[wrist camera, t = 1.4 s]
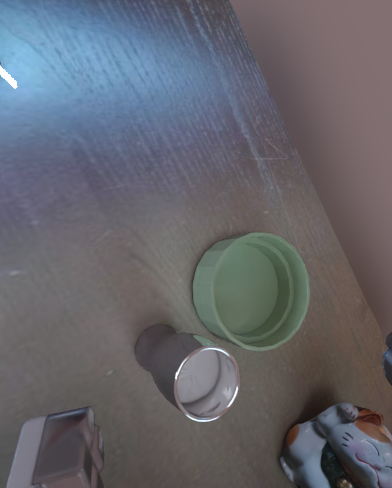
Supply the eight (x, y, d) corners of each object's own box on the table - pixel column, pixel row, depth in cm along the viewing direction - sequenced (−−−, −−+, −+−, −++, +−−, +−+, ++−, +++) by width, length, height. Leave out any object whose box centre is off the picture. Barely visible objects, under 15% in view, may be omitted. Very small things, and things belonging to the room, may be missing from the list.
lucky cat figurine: (264, 442, 50) (349, 432, 40) (299, 394, 58) (376, 376, 49) (323, 544, 47) (428, 559, 38) (351, 478, 56) (442, 477, 47)
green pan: (170, 281, 46) (187, 283, 40) (245, 215, 51) (269, 209, 45) (233, 364, 49) (257, 376, 43) (298, 293, 54) (327, 296, 48)
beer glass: (132, 321, 43) (172, 346, 30) (183, 319, 46) (243, 340, 32) (130, 378, 43) (170, 430, 29) (182, 372, 46) (242, 418, 32)
